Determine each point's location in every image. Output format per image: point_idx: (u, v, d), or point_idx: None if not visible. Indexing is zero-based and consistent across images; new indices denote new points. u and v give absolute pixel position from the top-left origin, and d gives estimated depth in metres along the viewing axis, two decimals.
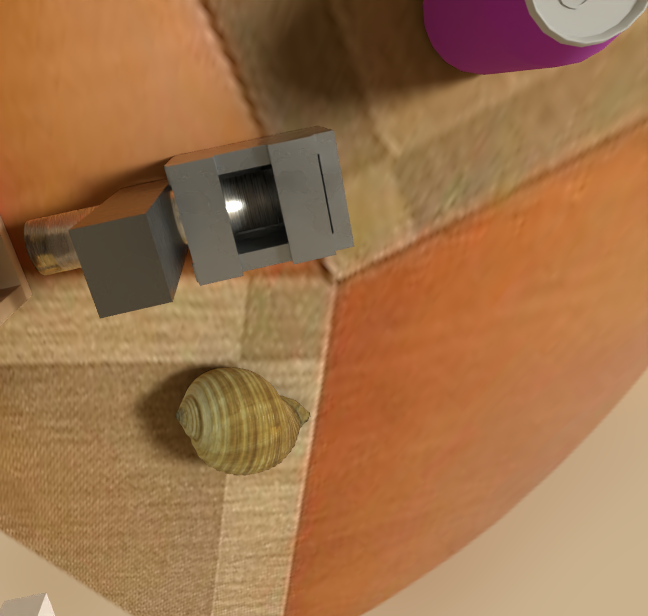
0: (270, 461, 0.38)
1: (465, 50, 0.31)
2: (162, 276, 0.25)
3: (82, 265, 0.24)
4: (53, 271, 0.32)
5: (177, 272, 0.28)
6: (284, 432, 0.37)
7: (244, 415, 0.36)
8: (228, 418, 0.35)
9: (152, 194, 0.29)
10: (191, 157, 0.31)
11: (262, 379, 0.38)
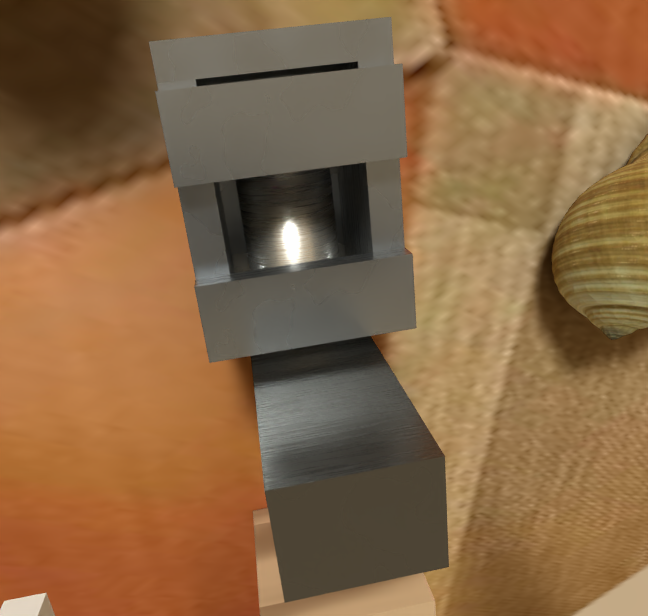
0: None
1: None
2: (391, 471, 0.12)
3: (350, 586, 0.13)
4: None
5: (387, 385, 0.16)
6: None
7: None
8: None
9: None
10: None
11: (598, 188, 0.22)
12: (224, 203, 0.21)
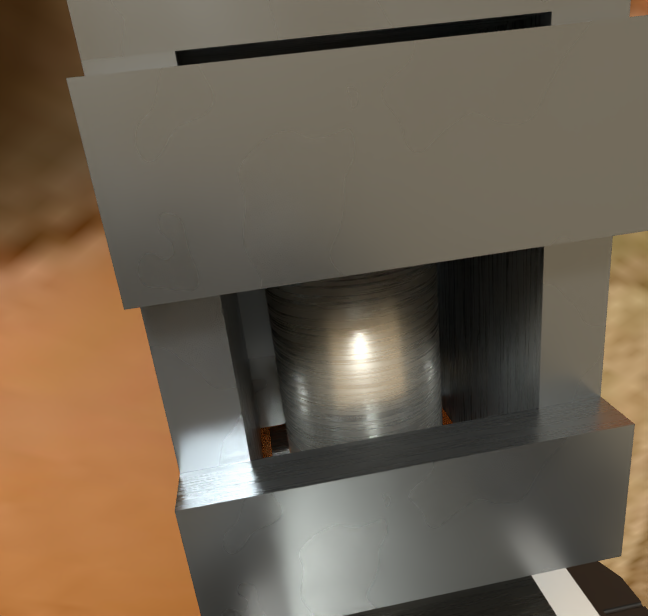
0: None
1: None
2: None
3: None
4: None
5: None
6: None
7: None
8: None
9: None
10: None
11: None
12: None
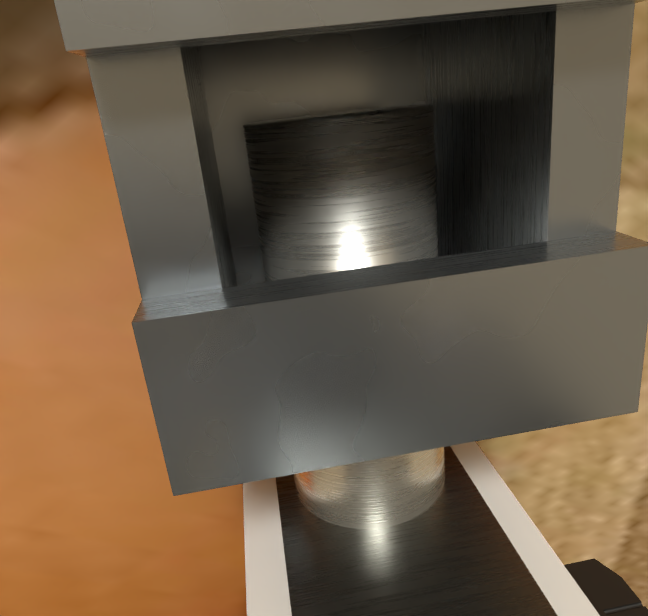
0: None
1: None
2: None
3: None
4: None
5: None
6: None
7: None
8: None
9: None
10: None
11: None
12: (218, 153, 0.11)
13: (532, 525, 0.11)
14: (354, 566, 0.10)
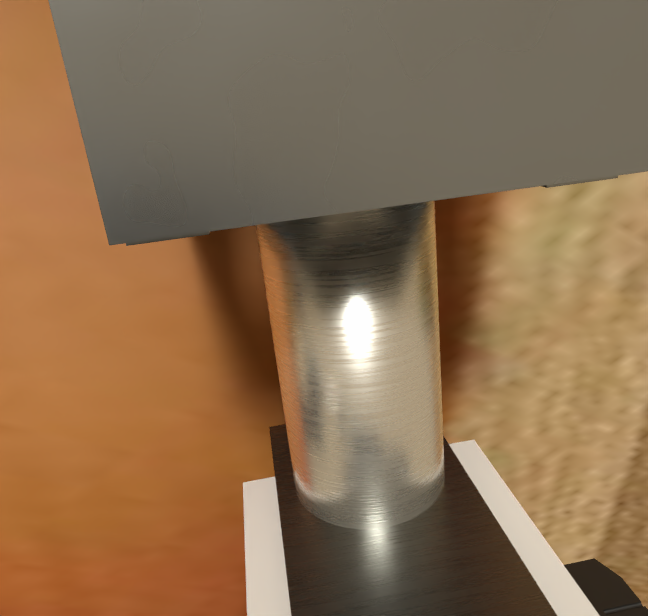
0: None
1: None
2: None
3: None
4: None
5: None
6: None
7: None
8: None
9: None
10: None
11: None
12: None
13: (532, 525, 0.11)
14: (354, 566, 0.10)
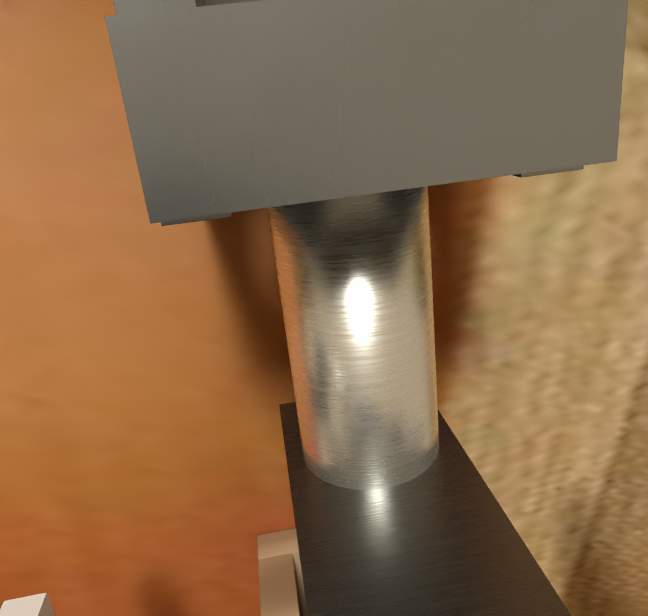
0: None
1: None
2: None
3: None
4: None
5: None
6: None
7: None
8: None
9: None
10: None
11: None
12: None
13: None
14: (355, 520, 0.11)
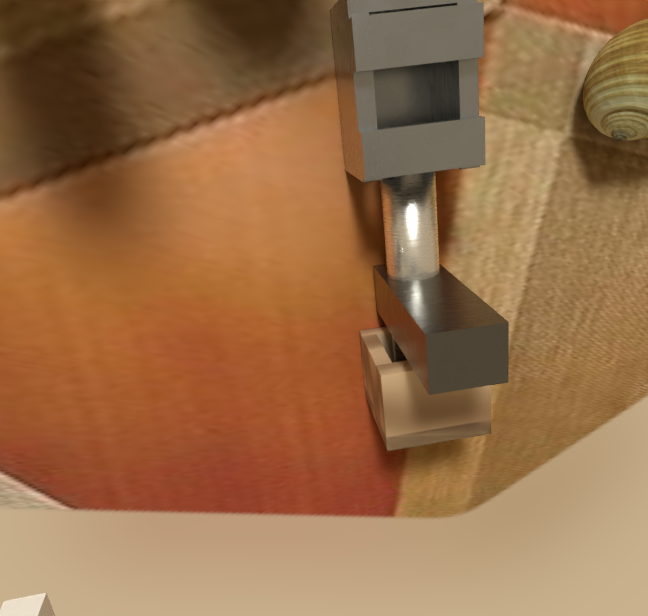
0: None
1: None
2: (483, 328, 0.27)
3: (460, 389, 0.28)
4: None
5: (474, 299, 0.30)
6: None
7: None
8: None
9: (396, 303, 0.32)
10: (354, 153, 0.31)
11: (623, 31, 0.33)
12: None
13: None
14: (410, 285, 0.33)
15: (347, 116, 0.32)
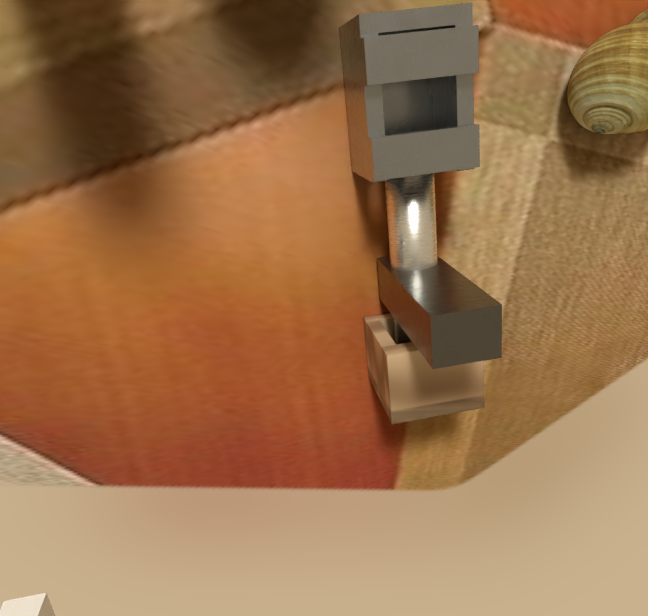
0: None
1: None
2: (480, 309, 0.31)
3: (460, 363, 0.32)
4: None
5: (470, 285, 0.34)
6: None
7: (636, 59, 0.34)
8: (632, 75, 0.35)
9: (400, 290, 0.36)
10: (363, 157, 0.35)
11: (604, 35, 0.36)
12: None
13: None
14: (412, 275, 0.37)
15: (356, 123, 0.36)
